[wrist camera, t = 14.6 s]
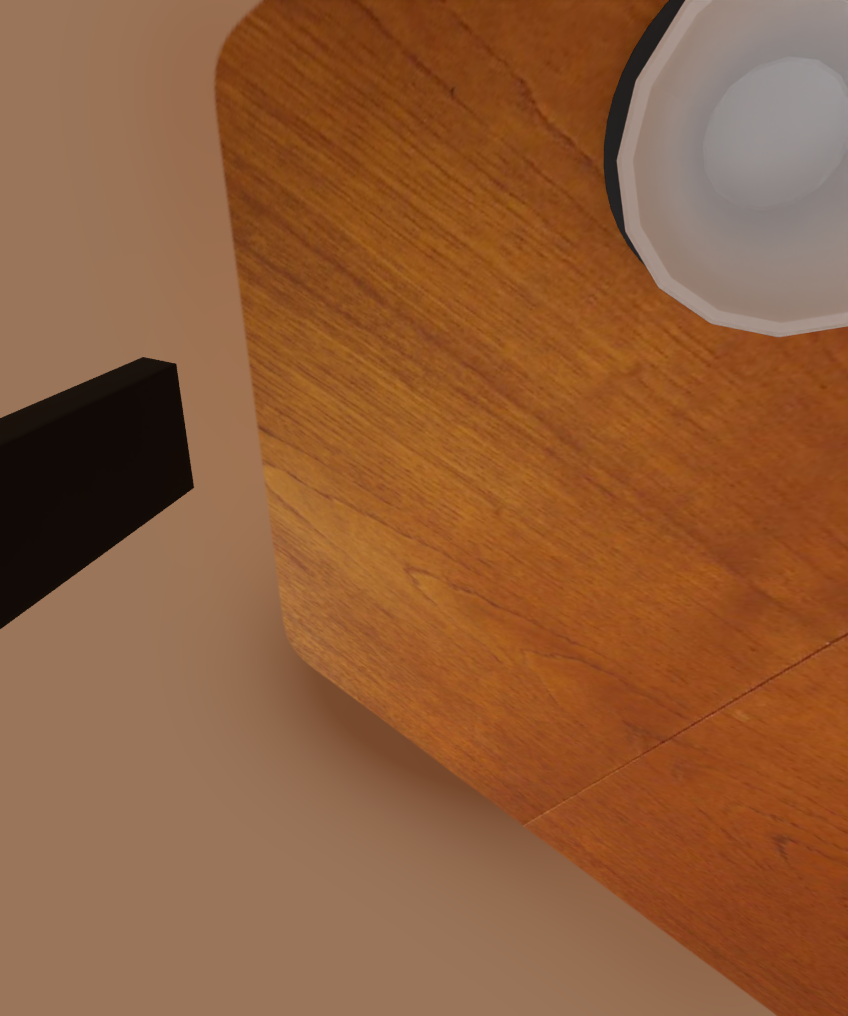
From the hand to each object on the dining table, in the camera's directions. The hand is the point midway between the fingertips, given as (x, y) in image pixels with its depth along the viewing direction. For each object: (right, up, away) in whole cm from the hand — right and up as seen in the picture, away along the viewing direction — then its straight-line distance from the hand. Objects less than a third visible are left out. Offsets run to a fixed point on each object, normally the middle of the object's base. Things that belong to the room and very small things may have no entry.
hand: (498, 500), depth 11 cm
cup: (+13, +16, +16) cm, 26 cm away
